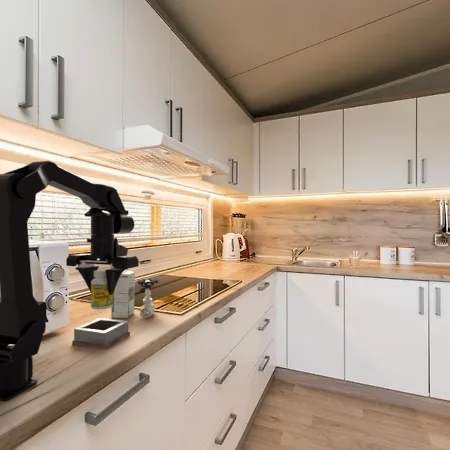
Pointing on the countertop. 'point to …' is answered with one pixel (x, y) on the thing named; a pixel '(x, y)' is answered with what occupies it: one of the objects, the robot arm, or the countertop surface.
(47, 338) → the countertop surface
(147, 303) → the valve
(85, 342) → the sleeve holder
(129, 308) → the syrup box
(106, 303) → the supplement bottle
